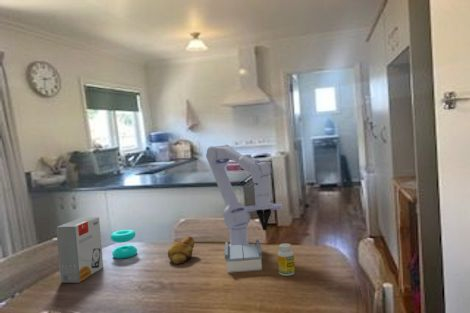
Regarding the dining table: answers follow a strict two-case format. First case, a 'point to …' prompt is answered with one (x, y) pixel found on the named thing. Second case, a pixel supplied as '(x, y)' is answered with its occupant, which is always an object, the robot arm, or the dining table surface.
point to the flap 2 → (252, 251)
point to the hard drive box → (79, 249)
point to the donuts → (123, 250)
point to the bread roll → (181, 250)
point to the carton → (244, 265)
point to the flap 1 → (233, 252)
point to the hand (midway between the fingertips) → (264, 229)
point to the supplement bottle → (286, 260)
